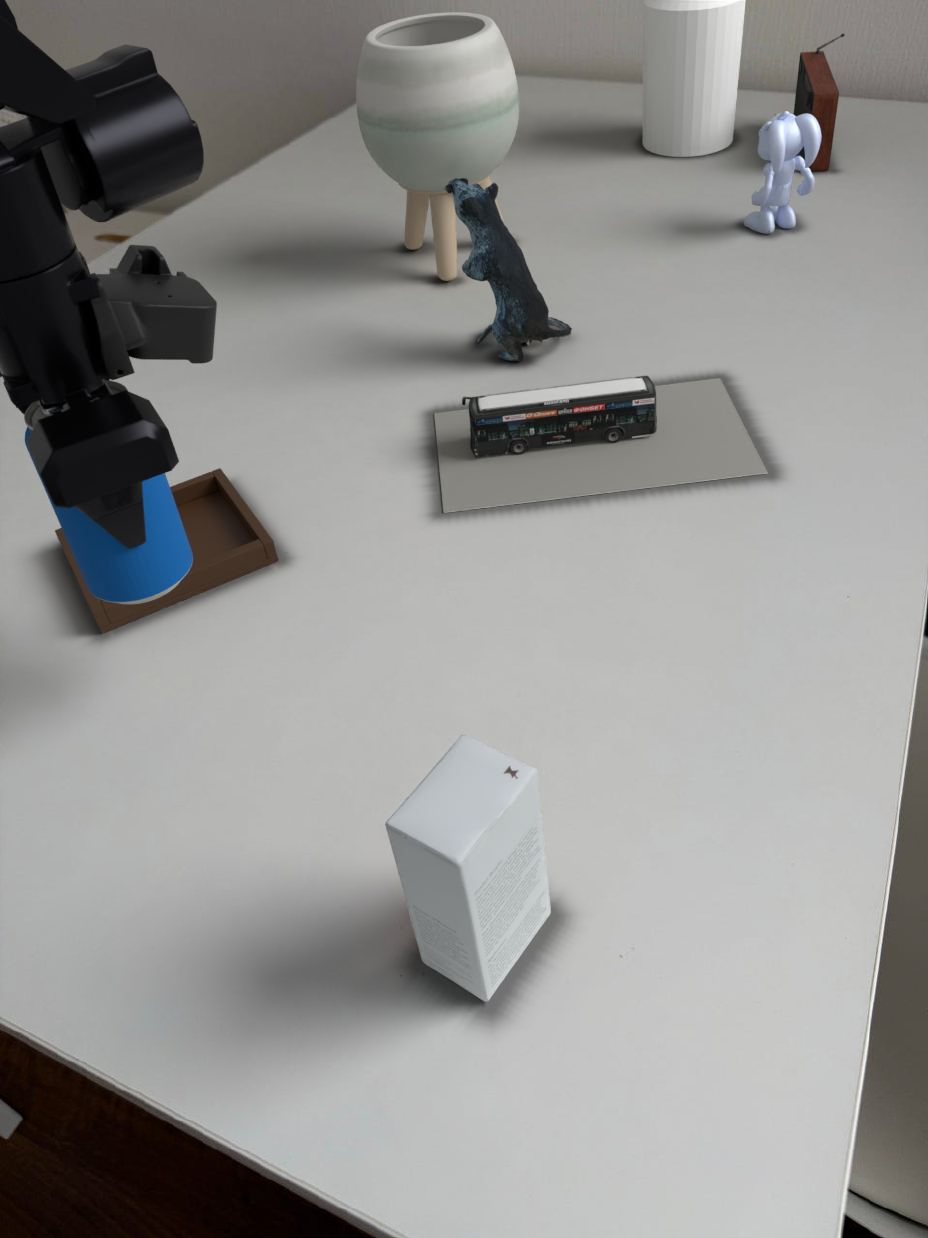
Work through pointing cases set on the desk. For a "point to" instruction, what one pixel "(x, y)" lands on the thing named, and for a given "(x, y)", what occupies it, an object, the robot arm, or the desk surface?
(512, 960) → the cosmetic box
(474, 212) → the sculpture
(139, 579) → the beverage can
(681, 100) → the bottle
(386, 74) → the planter
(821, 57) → the radio
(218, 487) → the walnut tray
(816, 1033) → the desk surface
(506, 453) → the model bus display
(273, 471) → the desk surface
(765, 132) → the toy figurine
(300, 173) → the desk surface
